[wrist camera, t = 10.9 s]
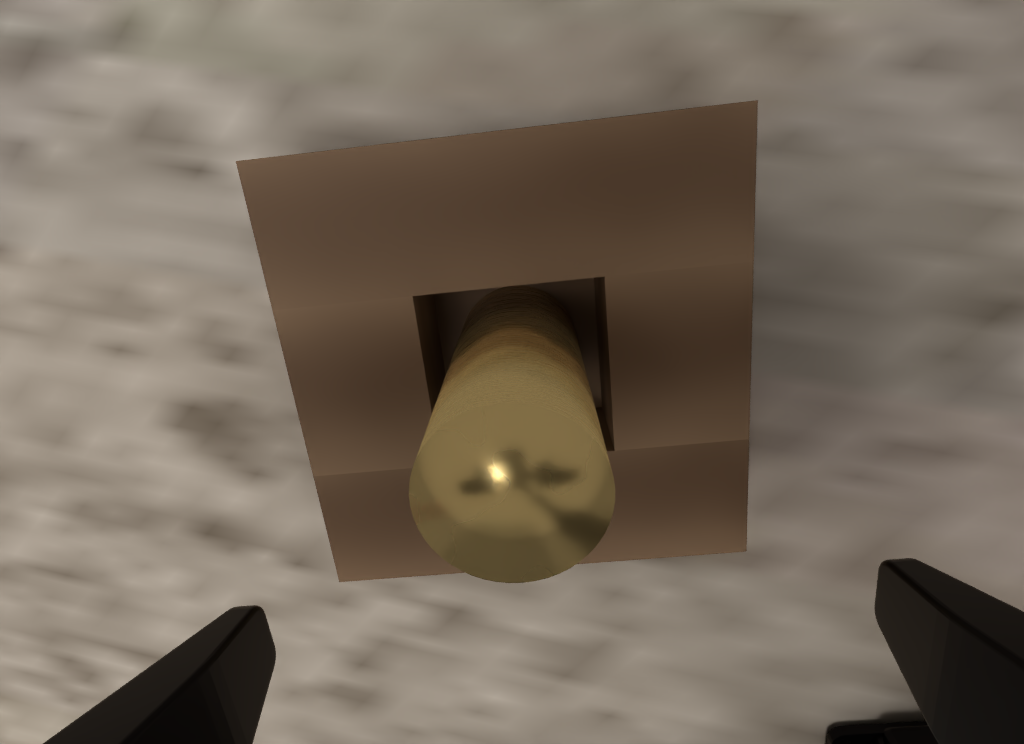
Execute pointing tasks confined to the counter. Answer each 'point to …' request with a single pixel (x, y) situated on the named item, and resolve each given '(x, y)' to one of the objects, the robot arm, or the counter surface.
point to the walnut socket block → (528, 262)
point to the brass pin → (514, 446)
